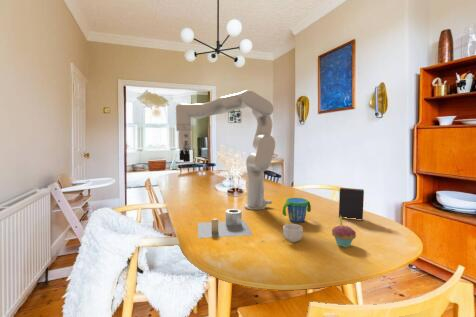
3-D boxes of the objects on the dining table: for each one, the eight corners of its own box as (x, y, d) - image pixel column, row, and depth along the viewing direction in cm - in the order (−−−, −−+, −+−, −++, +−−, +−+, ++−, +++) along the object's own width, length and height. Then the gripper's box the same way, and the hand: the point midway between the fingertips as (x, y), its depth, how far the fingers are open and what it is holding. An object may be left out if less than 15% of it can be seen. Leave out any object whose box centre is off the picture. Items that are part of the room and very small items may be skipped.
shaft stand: (245, 223, 124) (245, 209, 124) (252, 238, 107) (252, 221, 106) (198, 226, 121) (197, 211, 120) (198, 241, 103) (197, 224, 103)
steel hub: (240, 221, 123) (240, 208, 123) (242, 226, 117) (242, 213, 116) (225, 221, 122) (225, 209, 122) (226, 227, 115) (226, 213, 115)
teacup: (299, 245, 100) (300, 231, 99) (280, 241, 103) (280, 228, 103) (305, 236, 109) (305, 223, 108) (287, 233, 112) (287, 221, 112)
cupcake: (344, 251, 95) (345, 218, 94) (326, 242, 103) (327, 212, 101) (360, 246, 99) (361, 215, 98) (342, 238, 107) (343, 209, 105)
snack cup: (288, 225, 122) (288, 204, 121) (277, 218, 132) (277, 198, 131) (316, 222, 127) (317, 201, 126) (304, 215, 137) (304, 196, 136)
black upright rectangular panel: (362, 218, 132) (363, 189, 131) (362, 221, 128) (363, 190, 127) (339, 215, 137) (340, 187, 135) (338, 218, 133) (339, 188, 132)
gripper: (195, 127, 130) (195, 162, 132) (187, 128, 146) (187, 159, 148) (179, 127, 127) (180, 162, 129) (173, 128, 143) (174, 159, 145)
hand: (184, 160), depth 138 cm, fingers open, 9 cm apart
